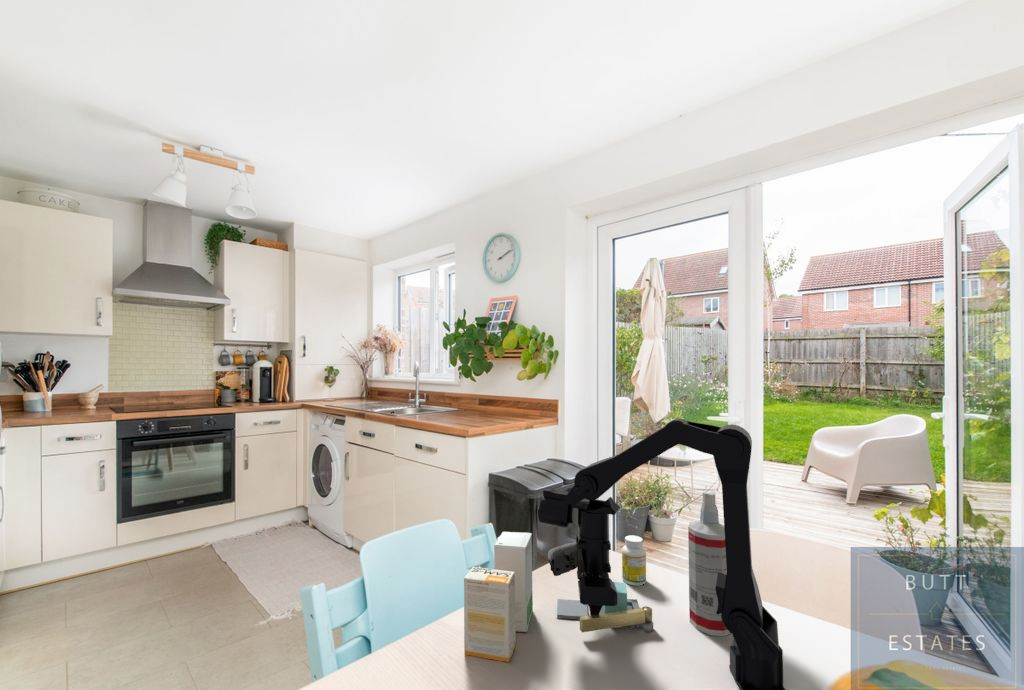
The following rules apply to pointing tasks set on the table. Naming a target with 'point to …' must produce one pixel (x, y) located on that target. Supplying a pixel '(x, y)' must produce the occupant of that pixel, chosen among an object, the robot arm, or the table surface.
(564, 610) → the pad
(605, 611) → the plug
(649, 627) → the socket
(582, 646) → the table surface
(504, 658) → the supplement box
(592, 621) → the clip
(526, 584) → the skincare box
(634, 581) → the supplement bottle
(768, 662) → the robot arm
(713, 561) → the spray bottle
